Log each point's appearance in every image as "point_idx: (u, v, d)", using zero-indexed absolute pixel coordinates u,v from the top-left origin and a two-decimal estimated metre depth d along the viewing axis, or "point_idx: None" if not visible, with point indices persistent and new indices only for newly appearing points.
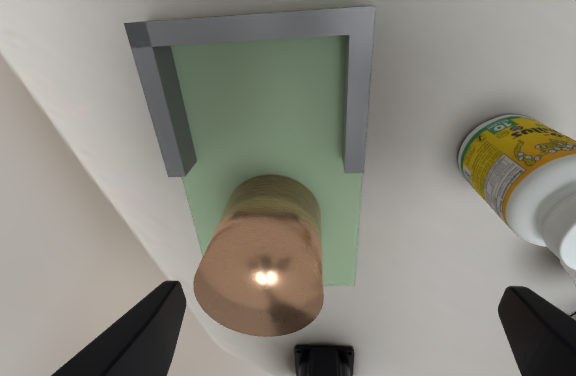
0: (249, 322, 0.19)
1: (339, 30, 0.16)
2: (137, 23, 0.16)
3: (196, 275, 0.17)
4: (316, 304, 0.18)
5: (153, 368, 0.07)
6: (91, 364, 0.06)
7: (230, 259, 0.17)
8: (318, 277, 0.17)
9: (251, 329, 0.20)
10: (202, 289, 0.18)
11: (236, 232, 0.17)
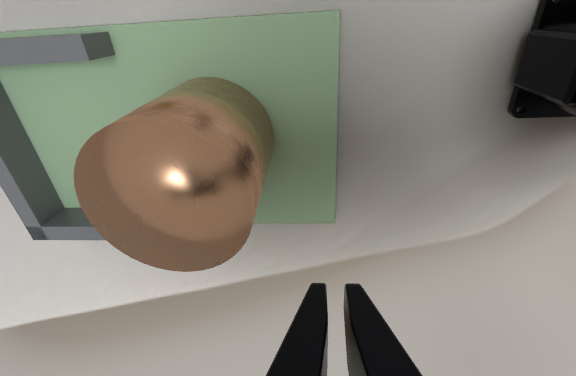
0: (223, 222, 0.13)
1: None
2: (29, 231, 0.22)
3: (150, 264, 0.15)
4: (157, 129, 0.11)
5: None
6: (297, 373, 0.06)
7: (110, 228, 0.14)
8: (107, 126, 0.12)
9: (239, 220, 0.13)
10: (172, 263, 0.15)
11: None
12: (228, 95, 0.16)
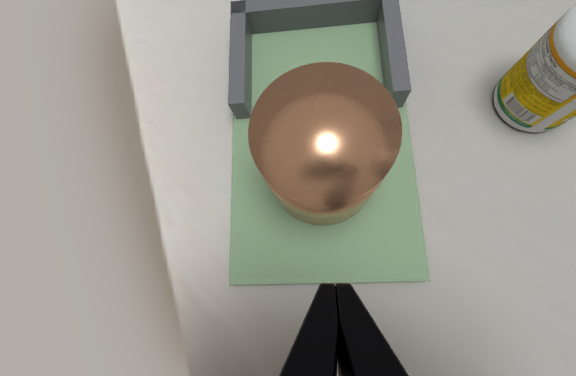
0: (308, 176, 0.15)
1: None
2: (239, 1, 0.25)
3: (256, 103, 0.16)
4: (394, 136, 0.15)
5: None
6: (310, 374, 0.06)
7: (297, 79, 0.16)
8: None
9: (310, 190, 0.15)
10: (258, 124, 0.16)
11: None
12: None
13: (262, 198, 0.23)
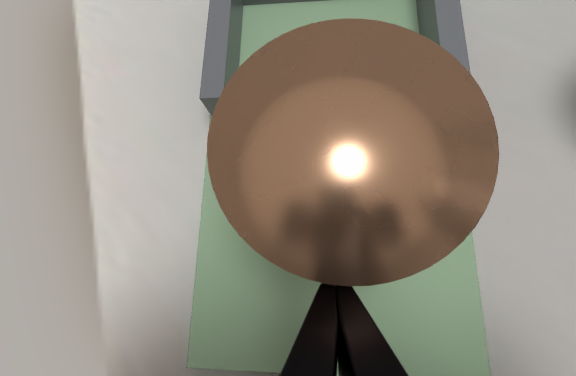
0: (314, 227, 0.08)
1: None
2: None
3: (228, 86, 0.09)
4: (483, 159, 0.08)
5: None
6: (310, 374, 0.06)
7: (303, 47, 0.09)
8: (476, 91, 0.08)
9: (316, 257, 0.07)
10: (228, 123, 0.09)
11: None
12: None
13: None
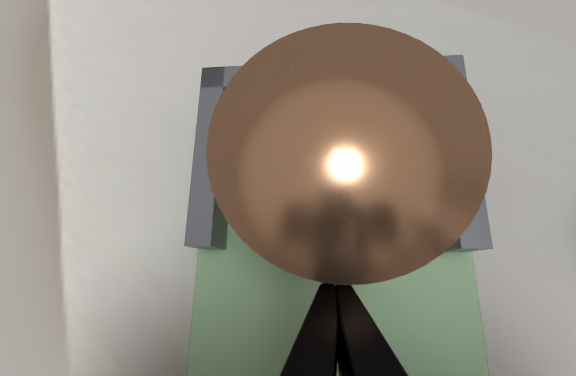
0: (311, 227, 0.08)
1: None
2: (215, 67, 0.16)
3: (226, 89, 0.09)
4: (477, 160, 0.08)
5: None
6: (310, 374, 0.06)
7: (300, 51, 0.09)
8: None
9: (313, 256, 0.08)
10: (227, 126, 0.09)
11: None
12: None
13: None
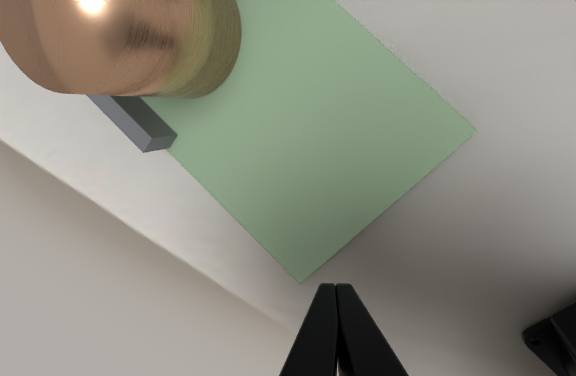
0: (85, 50, 0.12)
1: None
2: None
3: None
4: None
5: None
6: (310, 374, 0.06)
7: None
8: None
9: (98, 61, 0.12)
10: (17, 51, 0.13)
11: None
12: None
13: (255, 195, 0.20)
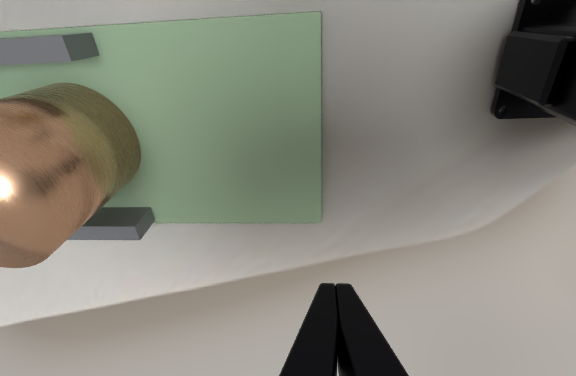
0: (29, 222, 0.14)
1: None
2: None
3: None
4: None
5: None
6: (310, 374, 0.06)
7: None
8: None
9: (43, 221, 0.14)
10: None
11: None
12: (66, 102, 0.17)
13: (236, 196, 0.22)
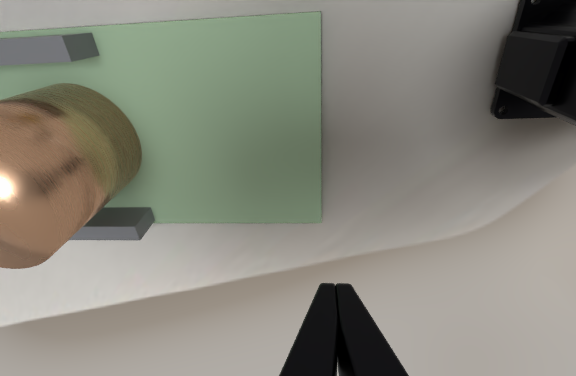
0: (30, 223, 0.14)
1: None
2: None
3: None
4: None
5: None
6: (310, 374, 0.06)
7: None
8: None
9: (44, 222, 0.14)
10: None
11: None
12: (68, 103, 0.17)
13: (236, 196, 0.22)
